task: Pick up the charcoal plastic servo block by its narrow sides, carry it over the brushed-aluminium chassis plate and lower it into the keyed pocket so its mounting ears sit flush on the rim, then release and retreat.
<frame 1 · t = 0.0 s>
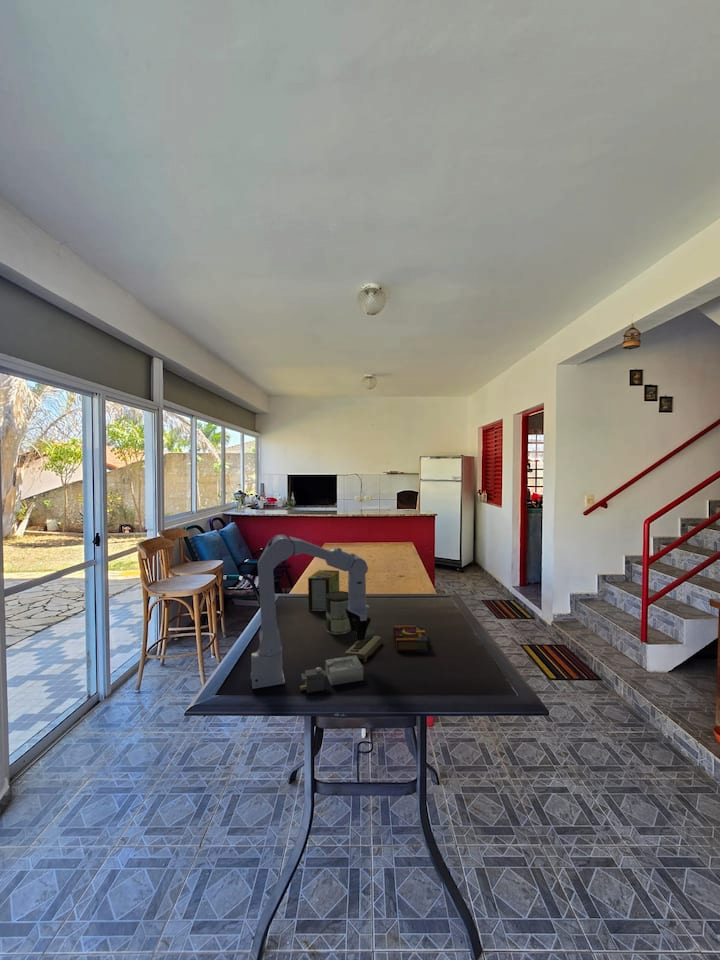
hand: (357, 635, 128), 10 cm above the table, fingers open, 7 cm apart
computer: (363, 652, 139), on the table
chassis: (344, 676, 122), on the table
protein box: (324, 606, 186), on the table
coffee can: (338, 629, 158), on the table
servo: (314, 688, 115), on the table
decorative book: (409, 643, 145), on the table
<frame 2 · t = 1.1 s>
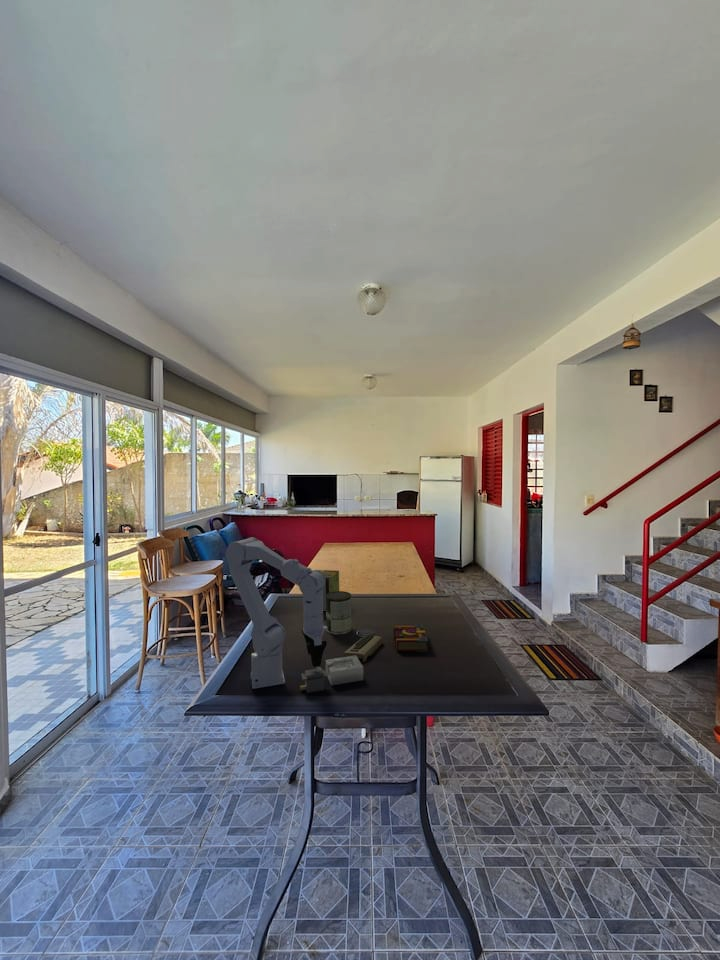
hand: (314, 659, 115), 8 cm above the table, fingers open, 7 cm apart
nothing on the table moved.
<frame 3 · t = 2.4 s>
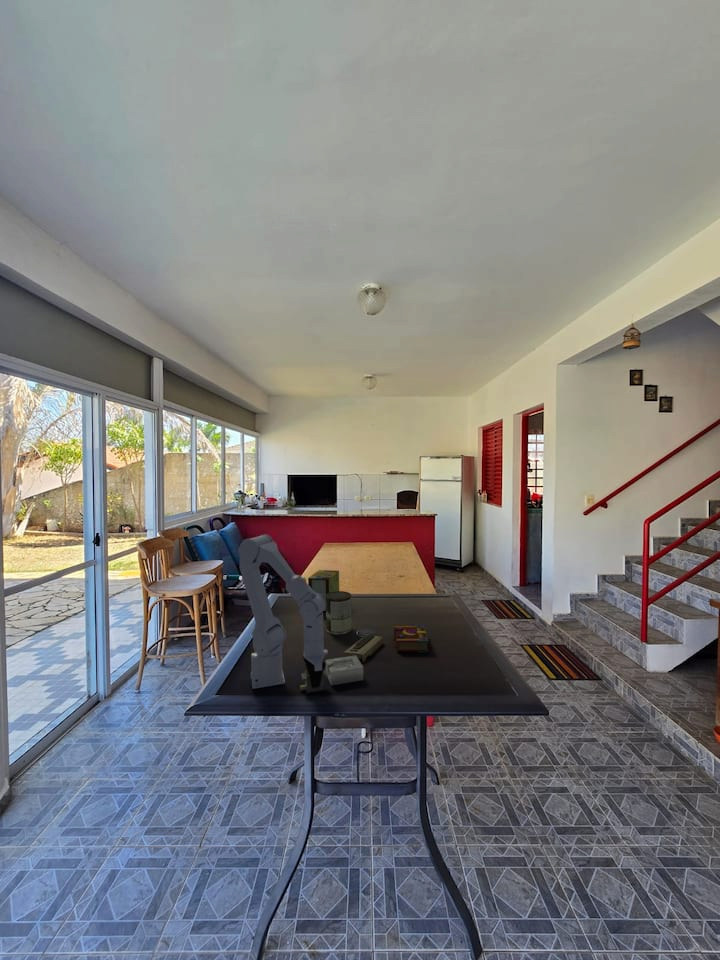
hand: (314, 683, 115), 1 cm above the table, fingers closed on servo, 3 cm apart
servo: (314, 688, 115), on the table, touching gripper
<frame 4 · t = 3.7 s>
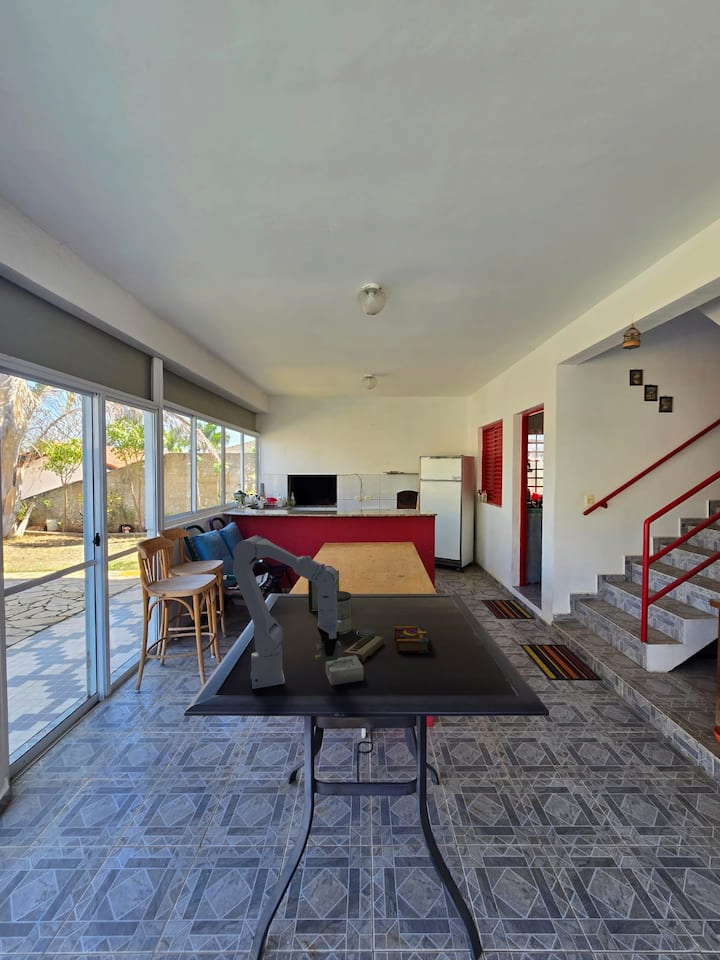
hand: (328, 653, 118), 9 cm above the table, fingers closed on servo, 3 cm apart
servo: (328, 658, 118), point 7 cm above the table, touching gripper
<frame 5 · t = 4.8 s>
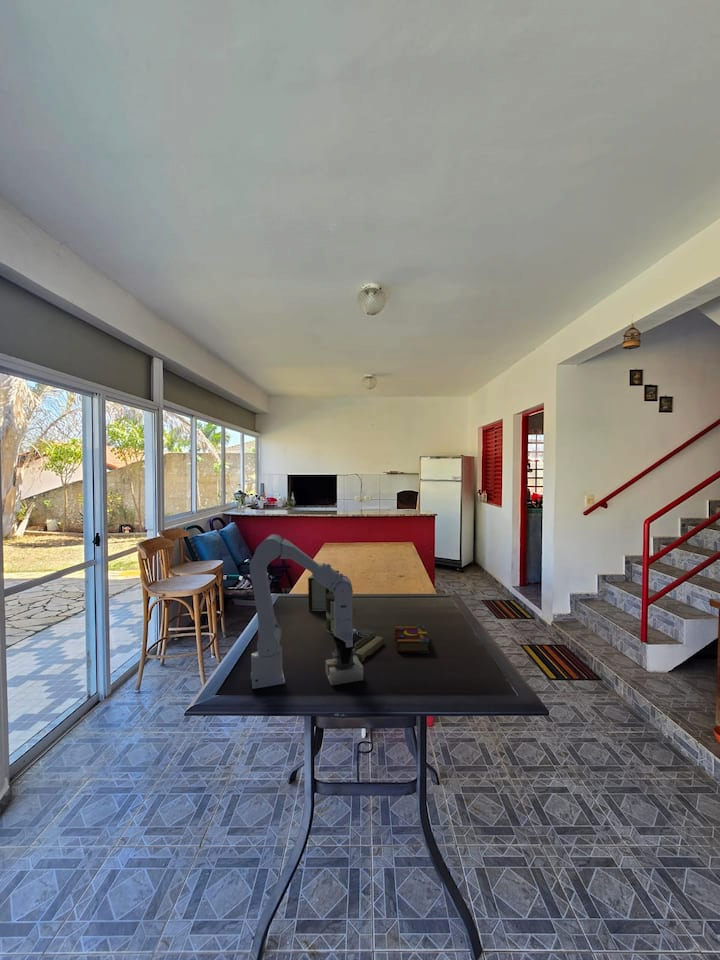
hand: (344, 660, 122), 5 cm above the table, fingers closed on servo, 3 cm apart
servo: (344, 666, 122), point 3 cm above the table, touching gripper
when the fingers open (4 cm above the table, at t = 5.2 s): servo drops 2 cm, resting on chassis.
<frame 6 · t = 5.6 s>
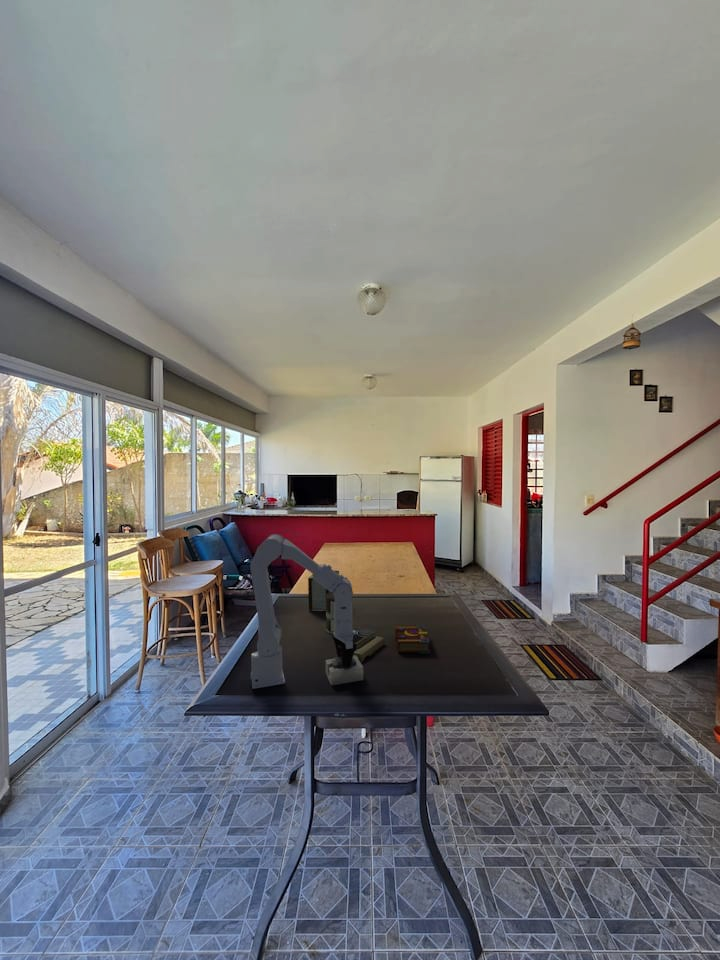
hand: (343, 662, 122), 4 cm above the table, fingers open, 6 cm apart
servo: (344, 674, 122), resting on chassis
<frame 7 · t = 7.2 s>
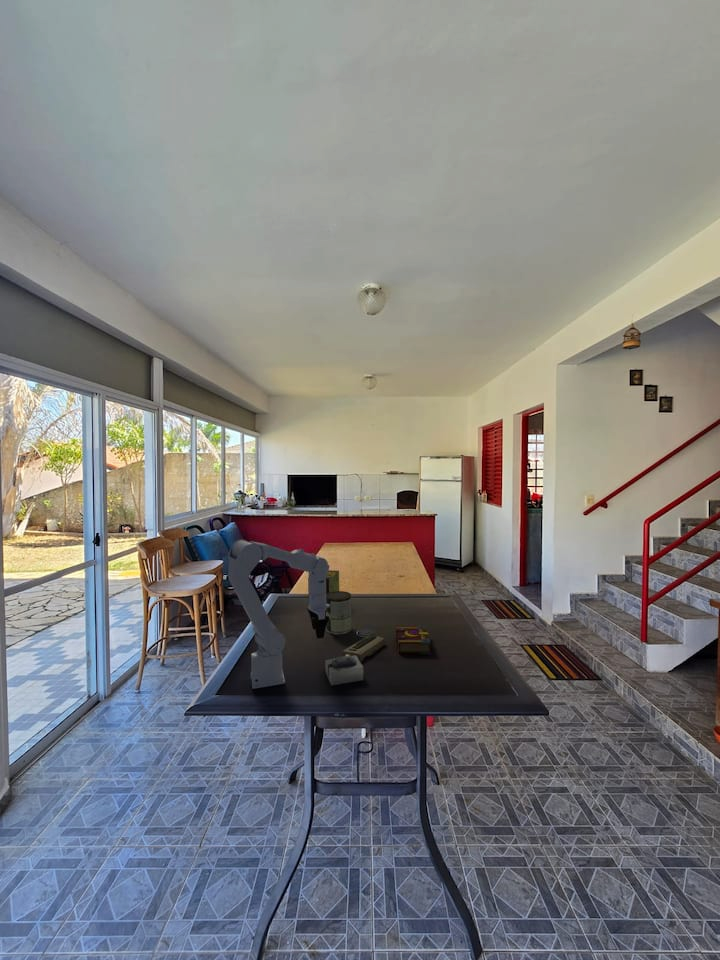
hand: (318, 633, 130), 10 cm above the table, fingers open, 7 cm apart
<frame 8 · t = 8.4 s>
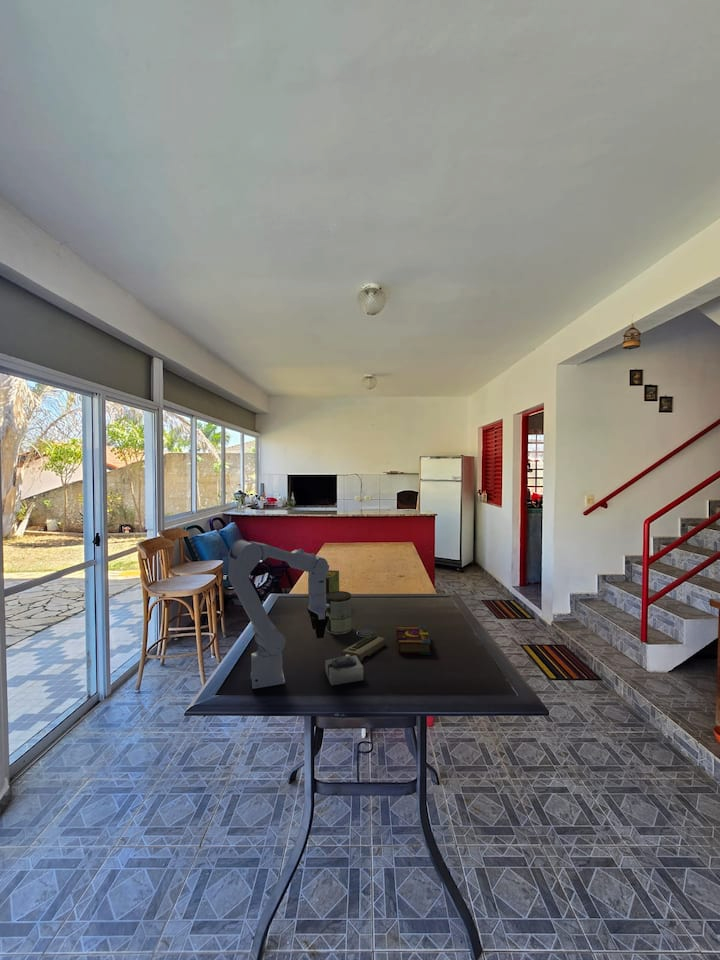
hand: (318, 633, 130), 10 cm above the table, fingers open, 7 cm apart
at the end: servo 0.0 cm off-centre on the chassis, point 0.5 cm above the chassis's base; servo tilted 0°; the gripper is holding nothing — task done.
